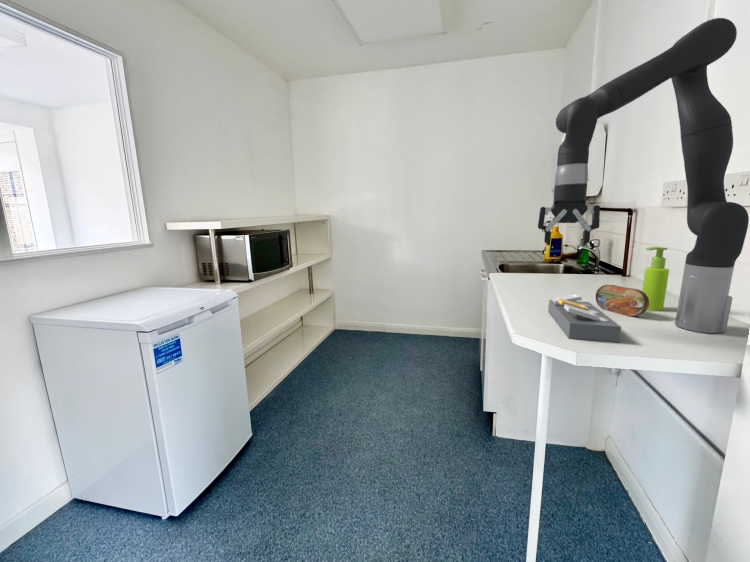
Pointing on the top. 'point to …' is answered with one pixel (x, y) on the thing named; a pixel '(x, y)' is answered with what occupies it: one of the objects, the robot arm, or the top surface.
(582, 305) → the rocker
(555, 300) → the rocker
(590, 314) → the rocker
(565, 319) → the rocker switch panel
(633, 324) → the top surface
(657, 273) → the soap dispenser
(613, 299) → the tin
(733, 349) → the top surface
